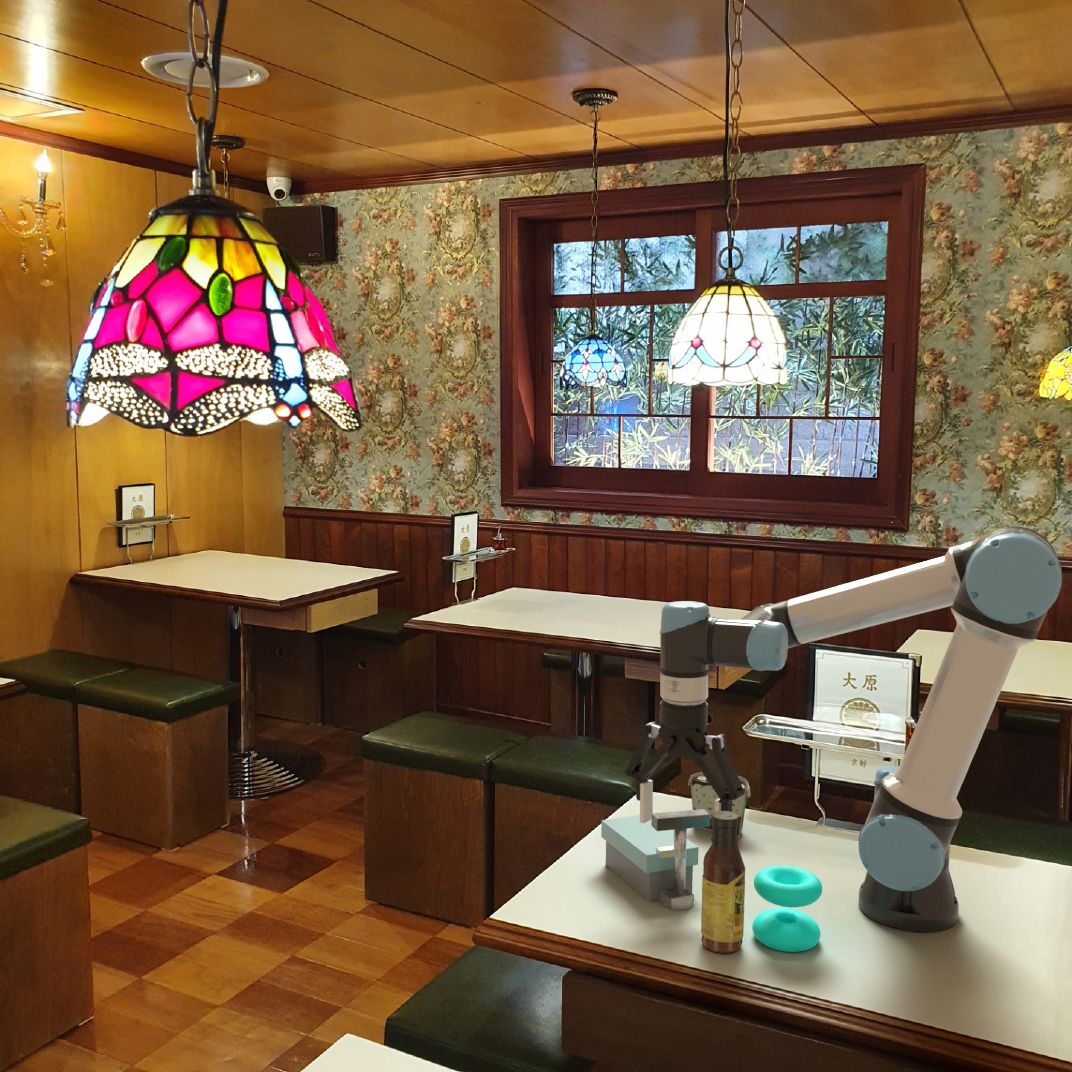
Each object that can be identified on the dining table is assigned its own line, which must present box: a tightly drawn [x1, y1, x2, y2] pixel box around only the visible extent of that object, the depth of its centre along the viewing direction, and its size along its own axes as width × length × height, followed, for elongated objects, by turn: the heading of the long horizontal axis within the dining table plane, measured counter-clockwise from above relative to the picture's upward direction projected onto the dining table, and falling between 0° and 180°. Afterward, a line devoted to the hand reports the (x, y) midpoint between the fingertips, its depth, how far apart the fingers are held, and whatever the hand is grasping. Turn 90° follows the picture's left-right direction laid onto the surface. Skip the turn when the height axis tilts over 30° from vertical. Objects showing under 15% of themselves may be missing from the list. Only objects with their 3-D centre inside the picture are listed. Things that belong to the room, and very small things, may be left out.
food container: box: [687, 771, 752, 838], centre depth 209 cm, size 12×6×10 cm, turn 58°
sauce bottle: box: [700, 811, 746, 954], centre depth 161 cm, size 6×6×20 cm
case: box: [605, 840, 695, 911], centre depth 183 cm, size 21×8×5 cm, turn 23°
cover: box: [600, 814, 699, 873], centre depth 185 cm, size 17×10×3 cm, turn 23°
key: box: [651, 809, 710, 895], centre depth 175 cm, size 9×2×13 cm, turn 105°
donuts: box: [751, 864, 823, 953], centre depth 164 cm, size 10×10×10 cm
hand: (682, 829), depth 175 cm, fingers open, 13 cm apart
